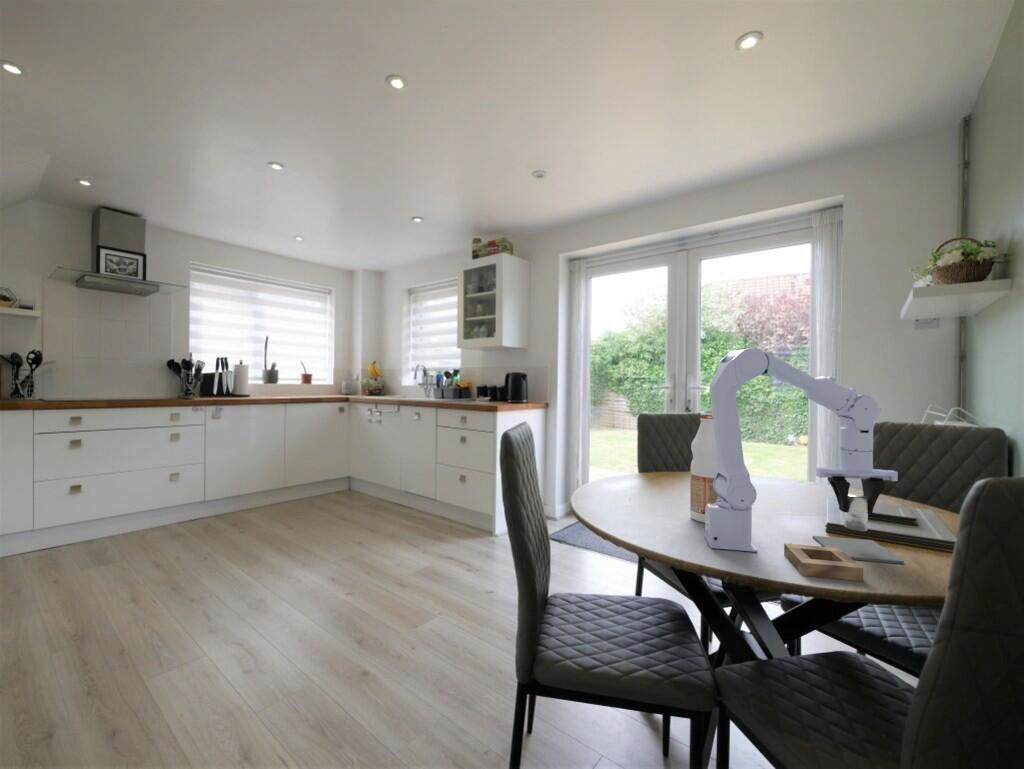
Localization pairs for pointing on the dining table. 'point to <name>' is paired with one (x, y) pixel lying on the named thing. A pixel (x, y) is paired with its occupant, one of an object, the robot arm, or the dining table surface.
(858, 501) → the plug
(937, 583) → the dining table surface
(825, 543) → the mat
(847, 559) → the holder
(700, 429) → the fruit juice
